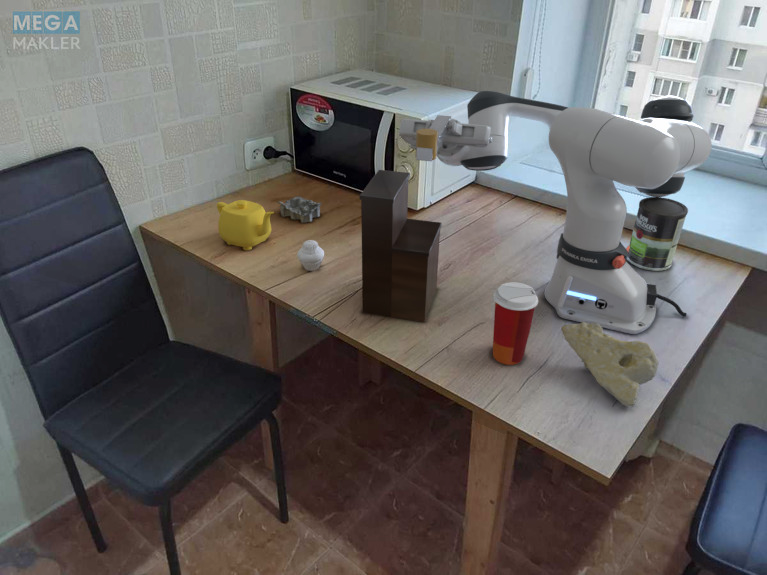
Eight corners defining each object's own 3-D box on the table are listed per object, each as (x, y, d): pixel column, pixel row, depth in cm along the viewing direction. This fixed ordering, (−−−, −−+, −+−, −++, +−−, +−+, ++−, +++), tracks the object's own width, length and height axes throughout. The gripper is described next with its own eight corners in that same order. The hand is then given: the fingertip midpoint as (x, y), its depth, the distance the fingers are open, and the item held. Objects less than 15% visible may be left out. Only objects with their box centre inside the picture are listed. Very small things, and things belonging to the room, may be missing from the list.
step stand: (425, 323, 122) (431, 203, 109) (361, 313, 125) (359, 195, 111) (437, 288, 134) (444, 176, 120) (378, 280, 136) (378, 169, 123)
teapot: (291, 242, 152) (288, 202, 146) (262, 260, 144) (257, 219, 138) (236, 225, 159) (231, 186, 154) (205, 242, 151) (199, 202, 146)
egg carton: (276, 214, 165) (275, 200, 163) (295, 205, 170) (294, 192, 168) (305, 225, 160) (304, 210, 158) (324, 215, 165) (323, 201, 163)
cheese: (664, 411, 104) (655, 326, 109) (662, 404, 98) (653, 315, 103) (571, 412, 110) (567, 332, 115) (564, 406, 104) (560, 321, 109)
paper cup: (523, 342, 117) (533, 280, 110) (533, 368, 111) (544, 303, 103) (482, 343, 117) (490, 280, 109) (490, 369, 110) (498, 304, 103)
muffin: (329, 269, 140) (328, 242, 136) (305, 276, 137) (303, 249, 134) (317, 258, 145) (316, 232, 141) (293, 265, 142) (291, 238, 138)
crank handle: (434, 161, 115) (435, 135, 113) (413, 159, 116) (414, 134, 113) (452, 127, 133) (454, 104, 131) (434, 126, 134) (435, 103, 132)
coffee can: (646, 274, 139) (661, 218, 132) (616, 254, 148) (629, 200, 140) (682, 266, 143) (698, 211, 135) (651, 247, 151) (665, 194, 143)
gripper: (490, 156, 141) (488, 143, 128) (404, 148, 145) (393, 135, 132) (494, 129, 141) (492, 113, 127) (408, 121, 145) (397, 105, 132)
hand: (441, 124), depth 130 cm, fingers closed on crank handle, 3 cm apart
